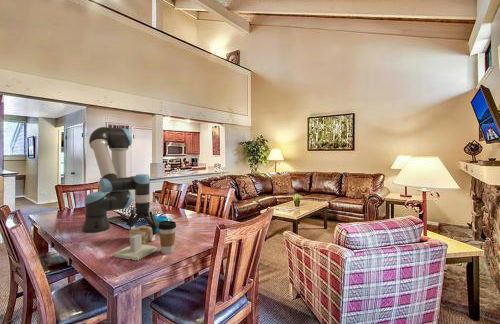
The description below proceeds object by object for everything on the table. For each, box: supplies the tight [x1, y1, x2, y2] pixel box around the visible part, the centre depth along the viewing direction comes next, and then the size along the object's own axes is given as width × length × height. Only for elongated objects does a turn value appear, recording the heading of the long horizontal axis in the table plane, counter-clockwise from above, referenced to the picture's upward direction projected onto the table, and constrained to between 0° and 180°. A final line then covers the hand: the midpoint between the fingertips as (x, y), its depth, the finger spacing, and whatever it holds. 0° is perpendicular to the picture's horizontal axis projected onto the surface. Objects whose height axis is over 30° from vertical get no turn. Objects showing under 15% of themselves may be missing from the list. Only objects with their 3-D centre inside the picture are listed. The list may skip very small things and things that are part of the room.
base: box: [113, 234, 158, 261], centre depth 127 cm, size 14×14×8 cm
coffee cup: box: [158, 220, 177, 255], centre depth 129 cm, size 8×8×15 cm
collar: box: [128, 225, 157, 244], centre depth 146 cm, size 10×10×6 cm
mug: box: [155, 215, 173, 233], centre depth 164 cm, size 12×8×8 cm
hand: (142, 239), depth 146 cm, fingers open, 13 cm apart
